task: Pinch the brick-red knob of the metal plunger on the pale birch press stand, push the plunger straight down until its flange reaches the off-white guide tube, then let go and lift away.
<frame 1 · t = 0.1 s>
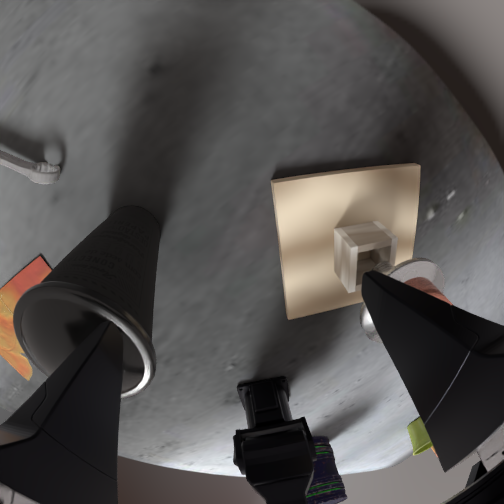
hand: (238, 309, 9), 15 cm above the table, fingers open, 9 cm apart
drinking cup: (133, 231, 23), on the table
storage jar: (306, 445, 49), on the table
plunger: (403, 301, 18), point 9 cm above the table, slide at 0.0 cm
press stand: (351, 241, 26), on the table
plant pot: (416, 420, 57), on the table
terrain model: (60, 359, 30), on the table
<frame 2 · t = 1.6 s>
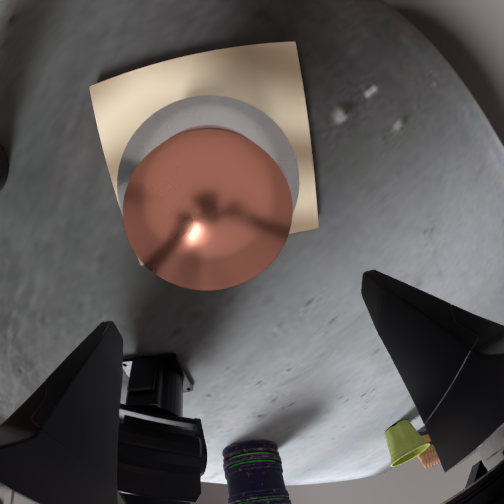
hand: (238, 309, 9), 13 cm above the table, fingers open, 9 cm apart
storage jar: (249, 449, 42), on the table
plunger: (207, 185, 11), point 9 cm above the table, slide at 0.1 cm
press stand: (208, 152, 19), on the table
plant pot: (396, 425, 49), on the table
ammunition clip: (418, 433, 58), on the table
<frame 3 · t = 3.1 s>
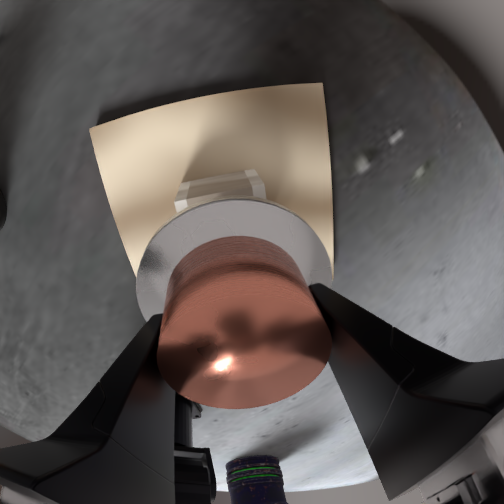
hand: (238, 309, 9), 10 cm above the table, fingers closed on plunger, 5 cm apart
storage jar: (252, 463, 42), on the table
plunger: (234, 289, 10), point 9 cm above the table, slide at 0.1 cm, touching gripper
press stand: (223, 204, 19), on the table
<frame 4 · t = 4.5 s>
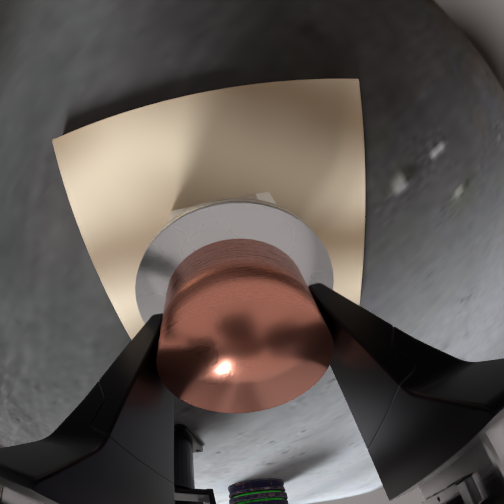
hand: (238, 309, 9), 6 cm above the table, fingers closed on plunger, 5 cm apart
storage jar: (255, 484, 38), on the table
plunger: (235, 292, 10), point 5 cm above the table, slide at 4.6 cm, touching gripper
press stand: (227, 235, 15), on the table
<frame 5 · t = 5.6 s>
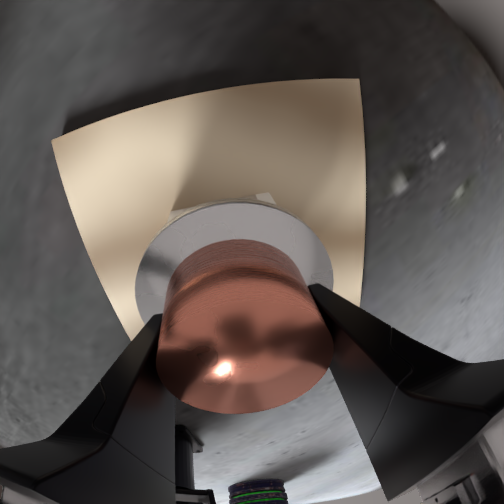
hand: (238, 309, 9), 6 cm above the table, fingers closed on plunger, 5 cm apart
storage jar: (255, 485, 38), on the table
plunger: (235, 292, 10), point 5 cm above the table, slide at 4.6 cm, touching gripper
press stand: (227, 236, 14), on the table
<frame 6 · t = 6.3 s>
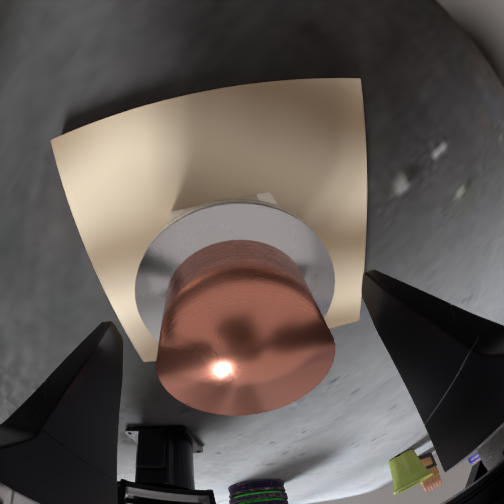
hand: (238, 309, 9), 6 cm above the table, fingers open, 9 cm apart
storage jar: (255, 485, 38), on the table
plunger: (235, 293, 10), point 5 cm above the table, slide at 4.6 cm
press stand: (227, 236, 14), on the table
plant pot: (400, 454, 45), on the table
ammunition clip: (420, 456, 54), on the table
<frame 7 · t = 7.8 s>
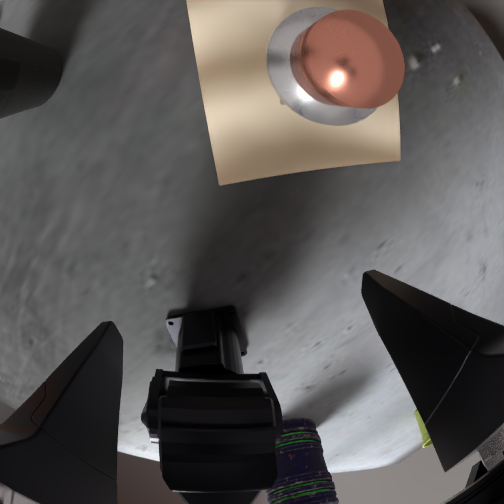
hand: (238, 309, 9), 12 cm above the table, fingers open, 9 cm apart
drinking cup: (38, 77, 14), on the table
storage jar: (286, 431, 40), on the table
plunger: (330, 64, 13), point 5 cm above the table, slide at 4.6 cm
press stand: (303, 72, 17), on the table
plant pot: (425, 405, 47), on the table
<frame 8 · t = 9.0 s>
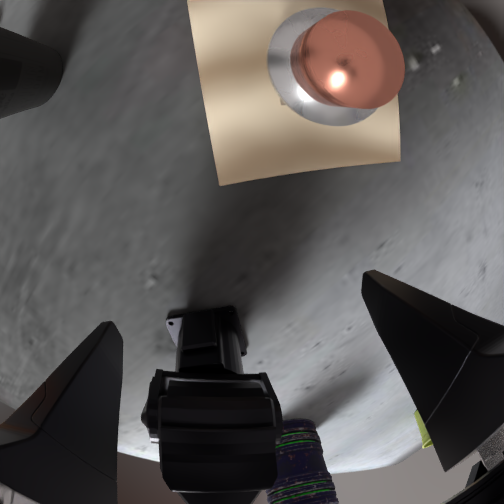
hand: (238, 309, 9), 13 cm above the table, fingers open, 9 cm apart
drinking cup: (38, 77, 14), on the table
storage jar: (285, 431, 40), on the table
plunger: (330, 65, 13), point 5 cm above the table, slide at 4.6 cm
press stand: (304, 73, 17), on the table
plant pot: (425, 405, 47), on the table
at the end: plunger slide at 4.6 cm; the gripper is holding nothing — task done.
